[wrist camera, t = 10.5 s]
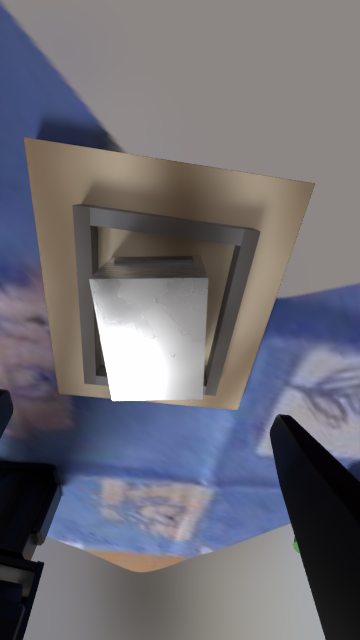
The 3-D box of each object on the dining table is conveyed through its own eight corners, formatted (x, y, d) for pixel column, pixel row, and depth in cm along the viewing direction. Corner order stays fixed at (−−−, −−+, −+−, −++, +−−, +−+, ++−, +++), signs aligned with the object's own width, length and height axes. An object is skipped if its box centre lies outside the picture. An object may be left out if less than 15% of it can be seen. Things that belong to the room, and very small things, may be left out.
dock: (63, 384, 20) (51, 406, 18) (34, 140, 12) (7, 131, 10) (234, 400, 20) (240, 422, 19) (305, 183, 13) (328, 182, 11)
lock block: (126, 358, 17) (112, 402, 14) (111, 253, 14) (88, 275, 10) (197, 357, 17) (202, 401, 14) (200, 252, 14) (208, 274, 10)
